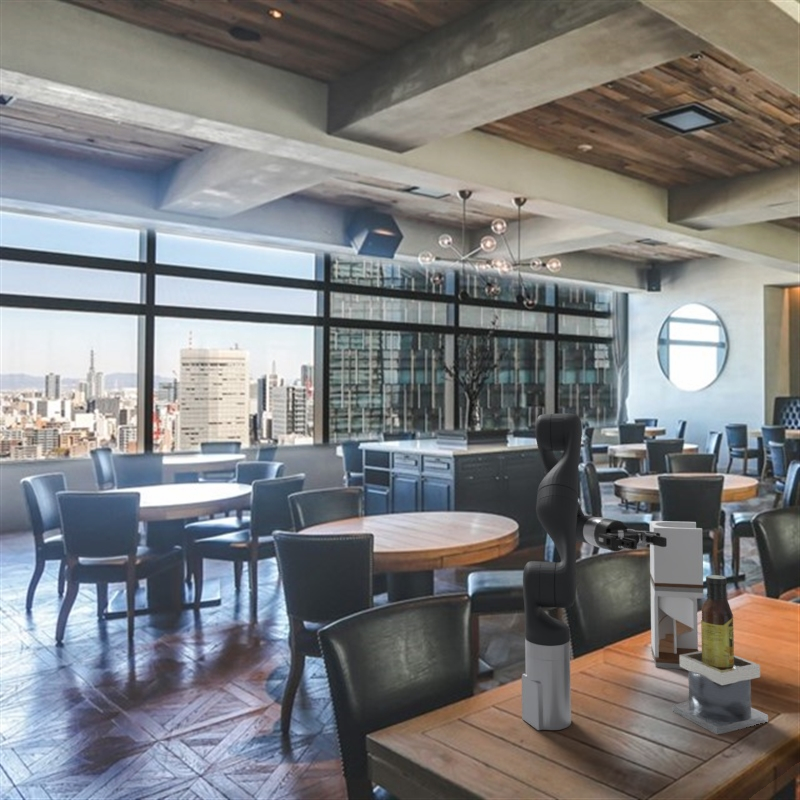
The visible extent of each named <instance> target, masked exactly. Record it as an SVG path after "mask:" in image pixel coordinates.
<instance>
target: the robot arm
mask: <svg viewBox="0 0 800 800" xmlns="http://www.w3.org/2000/svg"><path fill="white" fill-rule="evenodd" d="M582 425H583V424H582V421H581V418H580V416H579V415H578V414H576V413H567V412H566V413H544V414H543V413H542V414H540V415H539V416H537V419H536V422H535V428H534V429H535V431H534V432H535V441H536V442H535V443H536V446H537V450H538V453H539V458H540V461H541V462H542V466H543V469H544V473H545V476H544V477H543V479H542V480H541V482H539V485H538V487H537V497H536V505H535V512H536V517H537V520H538V521H539V523H540V525H541V526H542V528H543V529H544V530H545V532H546V534H548V536H549V538H550V540H552V542H553V544H554V546H555V547H556V550H557V552H558V555H559V557H560V562H557V561H556V562H554V561H537V560H533V561H532V560H531V561H528V562H526V564H525V565H524V569H523V573H522V590H523V602H524V603H523V604H524V606H523V607H524V639H525V641H524V645H525V646H524V651H525V653H524V654H525V655H524V656H525V657H524V659H525V662H524V663H525V673H522V674H521V714H522V715H521V719H522V720H523V721H524V722H526V723H527V724H529V725H530V726H532V727H533V728H534V729H535V730H537V731H542V730H543V731H544V730H546V731H559V730H564V729H567V728H569V727H570V725H571V724H572V705H571V704H572V700H571V697H572V696H571V695H572V691H571V632H570V627H569V626H568V625H567V623H565V622H563V621H561V620H559V619H557V618H555V617H554V616H553V617H552V616H551V615H549V614H548V613H546V612H545V611H544V610H543V609H542V608H543V607H544V608H558V609H559V608H560V609H569V608H571V607H573V605H574V604H575V602H576V598H577V554H576V553H577V551H576V549H577V547H576V543H585V544H588V545H592V546H594V547H596V548H600V549H603V550H604V549H605V550H606V551H607V550H608V551H611V552H620V551H622V550H624V549H625V548H626V549H629V550H632V551H634V550H637V549H638V547H645V546H647V545H649V546H650V545H656V546H661V547H666V546H667V539H666V538H665V537H661V536H660V533H656V532H650V530H644V529H641V530H635V529H632V528H628V526H627V525H626V524H625V523H624V522H623V521H621V520H617V519H613V518H612V519H611V518H607V517H600V516H598V517H596V516H593V515H586V514H585V513H584V512H583V510H582V508H581V505H580V503H579V465H580V456H581V447H582V438H583V437H582V436H583V426H582ZM556 451H557V452H559V451H560V452H563V453H562V456H561V457H560V459H558V458H557V457H556V455H555V454H554V452H556ZM641 541H642V542H641Z"/></svg>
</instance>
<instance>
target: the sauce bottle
mask: <svg viewBox="0 0 800 800" xmlns="http://www.w3.org/2000/svg"><path fill="white" fill-rule="evenodd" d="M727 580H728V578H727V577H726V576H723V575H717V574H714V575H713V574H711V575H706V577H705V583H706V586H707V587H706V591H707V592H706V597H707V598H706V600H705V601H704V603H703V604H702V606H701V621H700V625H701V651H702V662H703V663H705V664H707V665H710V666H712V667H715V668H717V669H719V670H726V669H731V668H733V666H734V655H735V653H734V652H735V650H734V649H735V647H734V646H735V644H734V643H735V641H734V639H735V638H734V637H735V635H734V633H735V632H734V614H733V612H732V609H731V605H730V603H729V601H728V598H727V584H728V581H727Z"/></svg>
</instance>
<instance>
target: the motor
mask: <svg viewBox="0 0 800 800" xmlns="http://www.w3.org/2000/svg"><path fill="white" fill-rule="evenodd" d="M679 658H680V667H682V668H684V669H683V670H687V671H688V701H684V702H679V703H674V704H672V711H673V713H675V714H677V715H679V716H680V717H682V718H684V719H686V720H688V721H690V722H692V723H693V724H696V725H698V726H700V727H702V728H703V729H705V730H707V731H709V732H711V733H713V734H715V735H717V736H718V734H719V735H723V734H726V733H730V732H734V731H739V730H741V729H742V730H743V729H746V727H747V728H750V726H751V727H754V725H755V726H757V725H756V724H759V725H761V724H760V723H763V724H766V723H765V722H767V723H769V714H766V713H765V712H762V711H760V710H758V709H756V708H753V707H752V690H751V689H752V685H751V684H752V683H751V681H752V680H754V679H758V678H761V664H758V663H756V662H754V661H750V660H748V659H745V658H743V657H740V656H738V655H735V654H734V666H733V668H731V669H726V670H719V669H717V668H715V667H712V666H710V665H707V664H705V663H703V662H702V650H699V651H698V652H692V653H687V654H682V655H679ZM738 729H739V730H738Z"/></svg>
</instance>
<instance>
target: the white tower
mask: <svg viewBox="0 0 800 800" xmlns="http://www.w3.org/2000/svg"><path fill="white" fill-rule="evenodd" d="M649 531H650V532H656V533H660V536H661V537H665V538H666V539H667V546H666V547H661V546H656V545H649V570H650V575H649V577H650V578H649V579H650V582H649V583H650V630H651V631H650V634H651V635H650V637H651V638H650V640H651V641H650V642H651V648H650V649H651V650H650V651H651V652H652V653H651V657H652V659H654V660H653V663H654V666H655V668H662V669H663V667H664V669H665V668H666V669H677V670H678V669H679V670H685V669H684V668H682V667H680V658H679V655H682V654H687V653H692V652H698V651H700V650H699V648H698V647H699V646H698V645H699V642H698V641H699V640H698V639H699V638H698V633H699V632H698V631H699V630H698V628H699V627H698V599H704V568H703V565H704V563H703V562H704V560H703V558H704V557H703V553H704V552H703V549H704V548H703V547H704V546H703V528H702V527H701V528H700V527H697V522H696V521H673V520H672V521H667V520H664V521H663V520H661V521H660V520H649Z"/></svg>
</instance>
